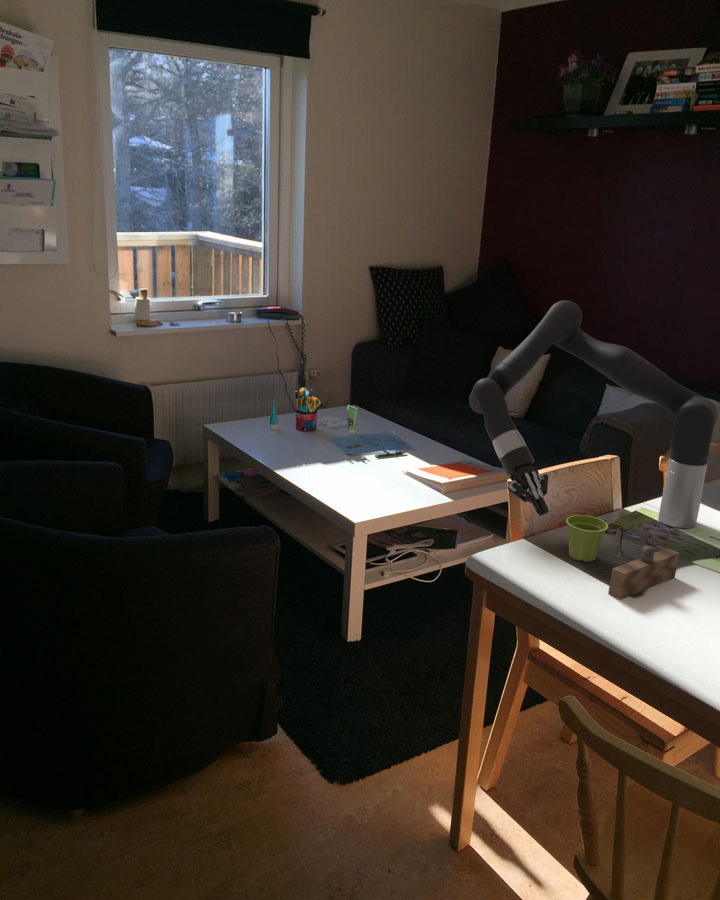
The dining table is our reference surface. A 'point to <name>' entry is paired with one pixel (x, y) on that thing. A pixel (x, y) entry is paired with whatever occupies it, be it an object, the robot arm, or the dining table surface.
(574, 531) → the plant pot
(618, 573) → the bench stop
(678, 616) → the dining table surface
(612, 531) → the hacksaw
